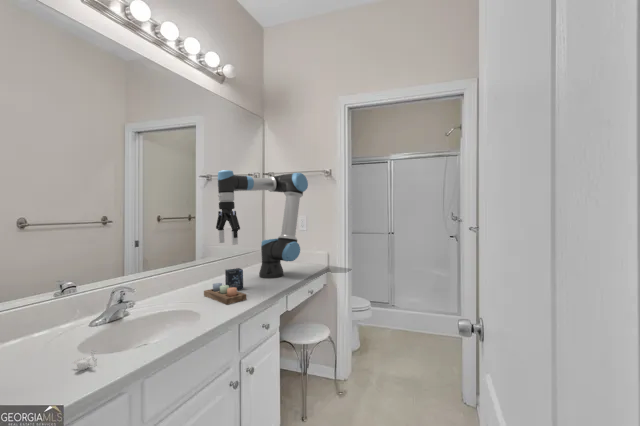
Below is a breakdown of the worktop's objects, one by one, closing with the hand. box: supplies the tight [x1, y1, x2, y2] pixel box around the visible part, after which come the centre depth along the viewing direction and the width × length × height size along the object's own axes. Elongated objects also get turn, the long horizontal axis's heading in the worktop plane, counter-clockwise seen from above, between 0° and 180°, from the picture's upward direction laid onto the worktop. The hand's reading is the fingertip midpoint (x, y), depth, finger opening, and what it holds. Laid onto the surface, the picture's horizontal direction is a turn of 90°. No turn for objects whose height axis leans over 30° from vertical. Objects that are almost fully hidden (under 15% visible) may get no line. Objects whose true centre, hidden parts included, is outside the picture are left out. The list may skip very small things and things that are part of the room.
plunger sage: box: [220, 284, 229, 294], centre depth 149 cm, size 4×4×4 cm
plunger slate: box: [212, 282, 223, 292], centre depth 154 cm, size 4×4×4 cm
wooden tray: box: [203, 288, 247, 305], centre depth 149 cm, size 10×22×2 cm, turn 45°
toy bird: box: [72, 349, 98, 371], centre depth 83 cm, size 8×5×5 cm, turn 78°
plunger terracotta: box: [227, 287, 238, 297], centre depth 144 cm, size 4×4×4 cm
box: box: [224, 267, 244, 291], centre depth 164 cm, size 8×6×11 cm
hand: (228, 243), depth 158 cm, fingers open, 13 cm apart
